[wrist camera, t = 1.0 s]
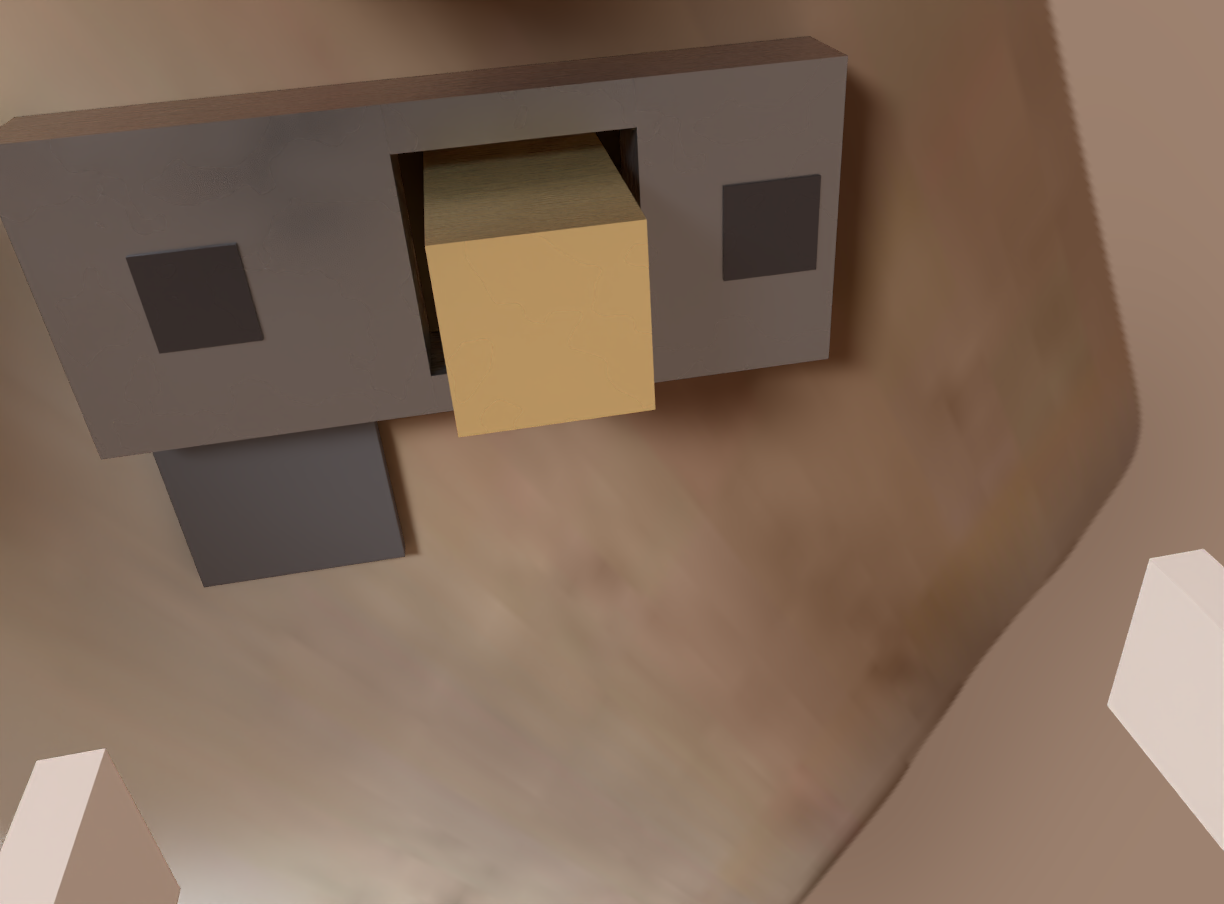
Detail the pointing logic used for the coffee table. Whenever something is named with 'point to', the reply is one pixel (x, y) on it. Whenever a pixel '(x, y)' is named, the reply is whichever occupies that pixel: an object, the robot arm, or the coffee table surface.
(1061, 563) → the coffee table surface
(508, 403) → the yellow rectangular block
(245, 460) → the rubber mat
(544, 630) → the coffee table surface
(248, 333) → the rack rail
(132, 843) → the robot arm
